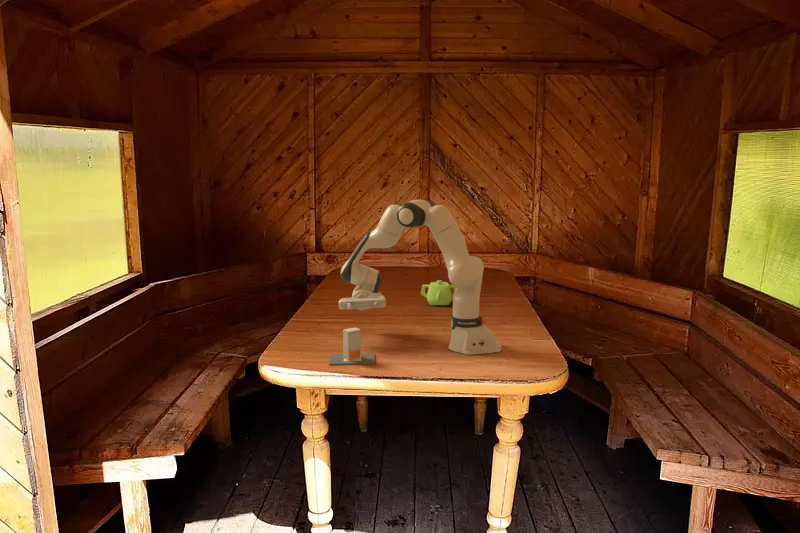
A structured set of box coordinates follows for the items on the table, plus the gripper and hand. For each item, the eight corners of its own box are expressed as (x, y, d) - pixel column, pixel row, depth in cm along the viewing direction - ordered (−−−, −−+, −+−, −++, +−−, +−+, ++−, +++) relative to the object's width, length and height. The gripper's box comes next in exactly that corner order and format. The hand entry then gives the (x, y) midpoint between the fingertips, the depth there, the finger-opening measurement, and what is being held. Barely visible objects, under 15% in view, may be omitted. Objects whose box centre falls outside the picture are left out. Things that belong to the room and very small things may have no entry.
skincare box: (348, 360, 256) (347, 331, 254) (343, 358, 259) (342, 329, 257) (361, 358, 259) (361, 329, 257) (356, 355, 263) (355, 327, 261)
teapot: (458, 309, 341) (459, 285, 338) (421, 308, 341) (421, 284, 339) (456, 300, 359) (456, 278, 356) (420, 300, 359) (420, 277, 357)
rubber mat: (374, 354, 266) (374, 352, 266) (375, 364, 254) (375, 362, 254) (330, 355, 265) (330, 353, 265) (329, 365, 253) (329, 363, 253)
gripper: (338, 294, 283) (337, 301, 269) (384, 291, 284) (386, 298, 270) (338, 308, 284) (338, 315, 270) (385, 305, 285) (386, 313, 271)
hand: (362, 307), depth 270 cm, fingers open, 8 cm apart
